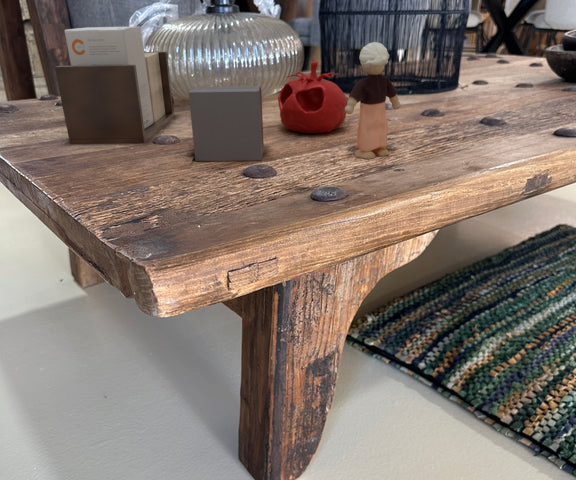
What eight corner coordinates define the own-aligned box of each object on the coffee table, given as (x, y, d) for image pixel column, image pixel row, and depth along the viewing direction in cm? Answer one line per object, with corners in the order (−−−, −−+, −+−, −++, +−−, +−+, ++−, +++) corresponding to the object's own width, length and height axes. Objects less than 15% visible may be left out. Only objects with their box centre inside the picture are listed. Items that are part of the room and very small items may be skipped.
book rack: (70, 148, 76) (54, 66, 71) (113, 121, 92) (102, 52, 87) (144, 147, 75) (133, 65, 70) (174, 120, 91) (167, 51, 86)
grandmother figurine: (377, 147, 73) (383, 39, 67) (401, 152, 70) (409, 40, 64) (335, 158, 68) (337, 43, 63) (359, 164, 66) (363, 45, 60)
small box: (154, 124, 83) (142, 25, 77) (138, 133, 77) (123, 28, 71) (102, 123, 84) (85, 26, 78) (82, 133, 78) (62, 29, 72)
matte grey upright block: (195, 161, 69) (188, 91, 65) (200, 152, 72) (194, 86, 68) (261, 160, 68) (258, 90, 64) (263, 152, 72) (261, 85, 68)
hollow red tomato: (310, 119, 89) (310, 55, 85) (360, 128, 83) (363, 59, 78) (263, 130, 83) (261, 62, 79) (313, 140, 77) (313, 66, 72)
